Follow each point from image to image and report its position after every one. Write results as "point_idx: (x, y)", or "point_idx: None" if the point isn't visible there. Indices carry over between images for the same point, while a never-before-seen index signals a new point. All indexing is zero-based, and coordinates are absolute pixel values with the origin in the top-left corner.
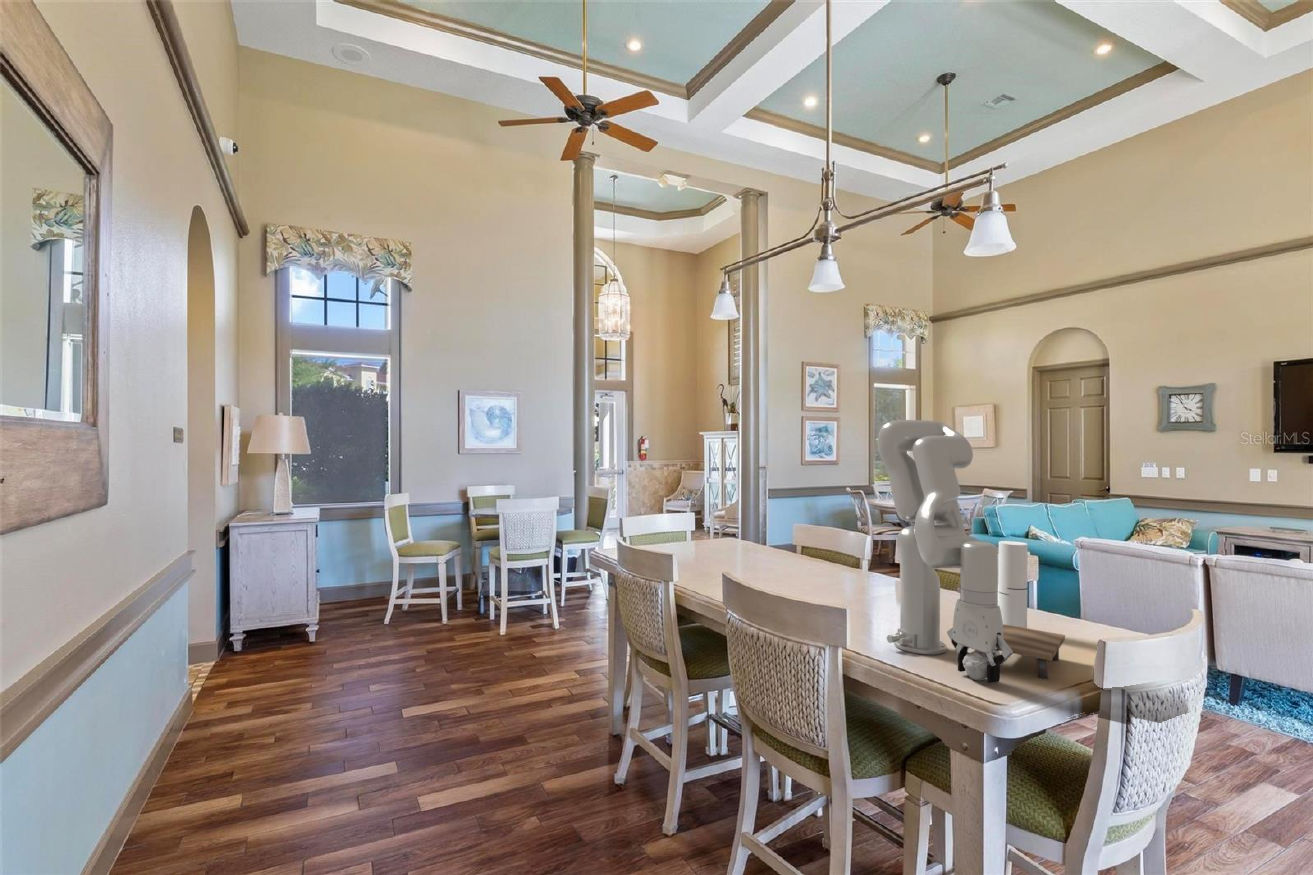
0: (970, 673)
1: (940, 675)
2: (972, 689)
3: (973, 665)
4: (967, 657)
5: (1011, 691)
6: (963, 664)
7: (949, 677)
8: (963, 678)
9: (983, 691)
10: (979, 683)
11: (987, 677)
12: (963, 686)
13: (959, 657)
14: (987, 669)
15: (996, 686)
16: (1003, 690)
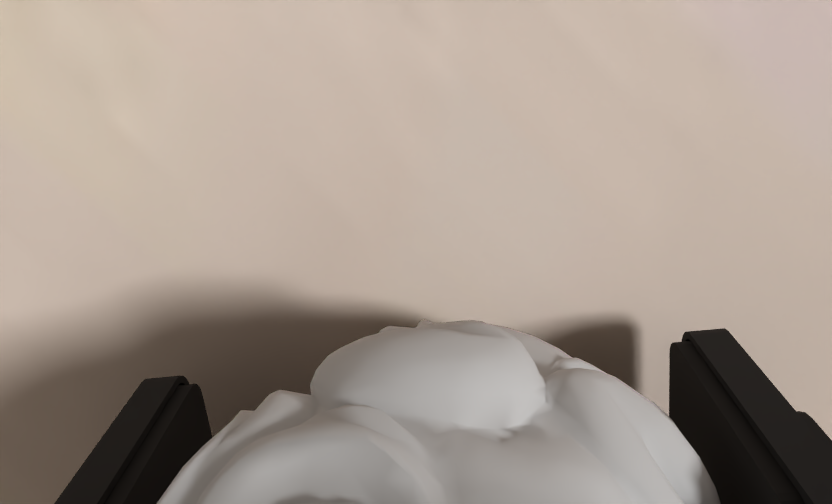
0: (425, 320)
1: (814, 19)
2: (164, 58)
3: (331, 399)
4: (529, 486)
5: (14, 493)
6: (613, 377)
7: (682, 98)
8: (564, 273)
9: (66, 158)
10: (337, 337)
11: (166, 414)
12: (302, 15)
13: (792, 464)
14: (112, 500)
15: None
16: (57, 433)
